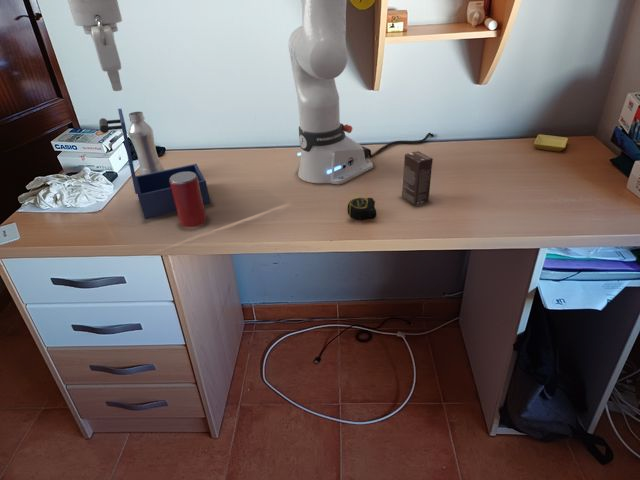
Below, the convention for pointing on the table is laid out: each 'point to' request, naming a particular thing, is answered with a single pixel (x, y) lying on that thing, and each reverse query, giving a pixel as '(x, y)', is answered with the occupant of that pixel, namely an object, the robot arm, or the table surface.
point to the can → (188, 199)
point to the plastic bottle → (144, 144)
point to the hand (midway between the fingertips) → (116, 85)
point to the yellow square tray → (550, 142)
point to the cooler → (164, 190)
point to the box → (417, 178)
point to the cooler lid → (105, 128)
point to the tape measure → (362, 209)
